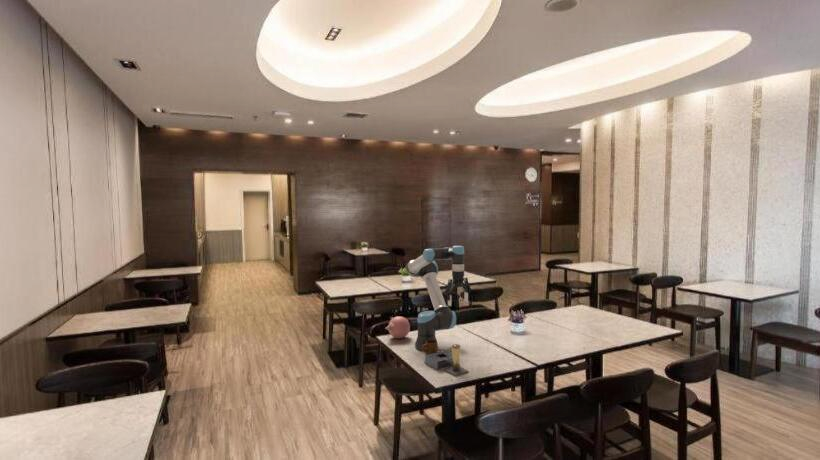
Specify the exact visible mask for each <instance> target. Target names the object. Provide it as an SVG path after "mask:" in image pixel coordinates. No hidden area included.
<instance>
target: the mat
mask: <svg viewBox="0 0 820 460" xmlns="http://www.w3.org/2000/svg"><path fill="white" fill-rule="evenodd" d="M443 371H444V372H446V373H448V374H450V375H451V376H454V377H458V376H461V375H465V374H468V373H469V372H470V371H469V370H467V369H466V368H464V367H462V366H460V371H453V370H452V366H451V367H447V368H444V369H443Z"/></svg>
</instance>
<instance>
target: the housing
mask: <svg viewBox="0 0 820 460" xmlns="http://www.w3.org/2000/svg"><path fill="white" fill-rule="evenodd" d="M424 364H425V365H426V366H429V367H430V368H433V370H436V371H439V370H444V369H445V368H449V367H452V351H449V350H447V349H444V350H441V351H437V352H436V353H432V354H428V355H424Z"/></svg>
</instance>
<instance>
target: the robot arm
mask: <svg viewBox="0 0 820 460" xmlns="http://www.w3.org/2000/svg"><path fill="white" fill-rule="evenodd" d="M443 260H445V261H448V260H451V270H452V271H451V277H452V278H448V282H447V284H446V286H445V290H444V295H446V301H447V304H446V301H445V297H444V296H443V292H442V290H441V287H440V285H439V282H438V279H437V277H438V274H439V267H438V264H437V262H436V261H443ZM464 270H465V247H464V246H463V245H453V246H452V247H449V246H448V247H441V248H438V247H437V248H426V249H424V250H423V252H422V254H421V255H420V256H417V258H416V259H411V260H409V261H408V263H406V265H405V271H406V273H407V275H409V276H410V277H413V278H421V280H422V281H423V282H425V286H426V289H427V292H428V294H429V297H430V300H431V303H432V306H433V310H424V311H421V312H419V313H418V315H417V337H416V341H415V342H414V347H415V349H416V350H418V351H421V352H423V351H422V345H423V344H425V342H426V340H436V341H437V345H438V346H439V343H438V340H437V337H436V331H444V330H445V331H446V330H451V329H454V328H455V326H456V325H457V315H456V312H455V311H454V310H451V309H450V307H452V293H453V292H454V290H455V288H456V287H457V286H461V288H462V289H463V291H464V294H463V298H464V299H463V302H464V303H465V304H468V303H469V296H470V294H469V293H471V292H472V288H471V285H470V283H469V279H468V277H466V276H465V271H464ZM424 349H425V347H424Z"/></svg>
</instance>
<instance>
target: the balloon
mask: <svg viewBox="0 0 820 460" xmlns="http://www.w3.org/2000/svg"><path fill="white" fill-rule="evenodd" d="M384 329H385V330H387V331H388V333H389V334H390V335H391V337H393V338H395V339H399V340H400V339H403V338H405V337H406V336H408V334H409V332H410V330H411V325H410V322H409V320H408V319H407V318H406V317H404V316H400V315H399V316H395V317H392V319H390V321H389V322H388V325H387V326H386V327H385V328H384Z"/></svg>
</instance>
